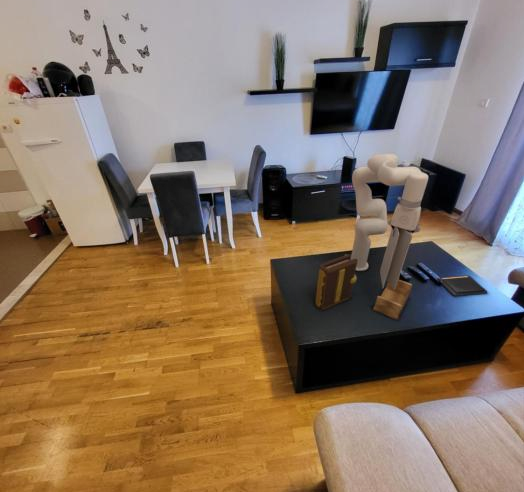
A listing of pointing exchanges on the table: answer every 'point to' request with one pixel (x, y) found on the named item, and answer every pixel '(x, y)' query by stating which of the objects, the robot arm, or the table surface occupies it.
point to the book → (335, 281)
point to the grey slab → (395, 256)
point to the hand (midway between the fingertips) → (399, 239)
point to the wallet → (462, 286)
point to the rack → (393, 299)
